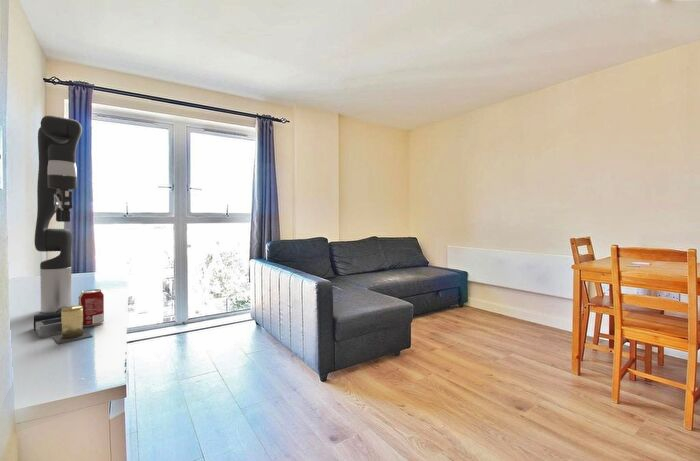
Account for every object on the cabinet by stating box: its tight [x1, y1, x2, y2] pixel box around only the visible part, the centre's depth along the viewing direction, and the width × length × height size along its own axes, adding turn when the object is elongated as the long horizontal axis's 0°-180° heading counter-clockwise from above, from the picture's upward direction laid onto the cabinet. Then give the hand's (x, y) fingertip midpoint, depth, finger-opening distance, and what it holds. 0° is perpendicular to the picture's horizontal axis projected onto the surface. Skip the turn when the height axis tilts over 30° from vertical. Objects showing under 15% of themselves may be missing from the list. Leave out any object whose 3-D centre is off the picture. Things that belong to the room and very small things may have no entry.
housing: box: [35, 317, 62, 339], centre depth 102 cm, size 8×8×4 cm
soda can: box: [78, 288, 105, 328], centre depth 110 cm, size 7×7×12 cm
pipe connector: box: [33, 306, 67, 332], centre depth 112 cm, size 12×5×15 cm
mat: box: [52, 329, 93, 345], centre depth 98 cm, size 8×8×1 cm
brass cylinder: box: [61, 304, 84, 339], centre depth 98 cm, size 5×5×9 cm
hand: (62, 221), depth 110 cm, fingers open, 8 cm apart
